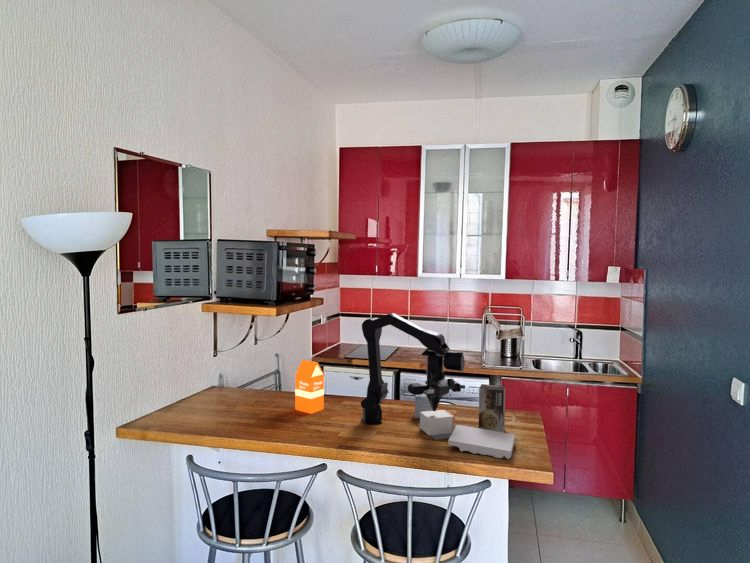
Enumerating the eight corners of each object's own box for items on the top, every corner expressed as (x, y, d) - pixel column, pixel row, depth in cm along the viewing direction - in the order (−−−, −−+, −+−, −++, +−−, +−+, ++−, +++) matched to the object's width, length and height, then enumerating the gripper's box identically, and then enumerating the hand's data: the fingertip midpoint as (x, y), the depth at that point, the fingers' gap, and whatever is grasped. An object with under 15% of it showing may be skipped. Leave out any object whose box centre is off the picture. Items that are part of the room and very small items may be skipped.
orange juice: (308, 405, 215) (308, 358, 214) (323, 409, 210) (324, 361, 208) (294, 409, 208) (295, 361, 207) (310, 413, 203) (311, 364, 202)
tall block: (429, 418, 181) (454, 416, 184) (420, 411, 188) (444, 409, 191) (428, 435, 181) (454, 432, 184) (419, 427, 189) (444, 425, 192)
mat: (435, 440, 177) (435, 439, 177) (417, 424, 193) (417, 424, 193) (471, 436, 182) (471, 435, 182) (450, 421, 197) (450, 421, 197)
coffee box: (504, 428, 190) (506, 385, 189) (503, 434, 184) (504, 390, 183) (479, 425, 193) (481, 383, 192) (477, 431, 187) (479, 387, 186)
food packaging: (514, 443, 176) (456, 433, 182) (514, 434, 175) (457, 424, 182) (510, 461, 161) (447, 449, 168) (510, 451, 161) (448, 440, 168)
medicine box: (434, 415, 204) (435, 394, 203) (434, 419, 200) (435, 397, 199) (414, 414, 205) (415, 393, 204) (414, 418, 200) (415, 396, 200)
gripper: (419, 375, 174) (418, 420, 175) (468, 371, 180) (467, 415, 181) (407, 367, 185) (406, 410, 185) (454, 365, 190) (453, 406, 191)
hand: (433, 410), depth 185 cm, fingers closed
